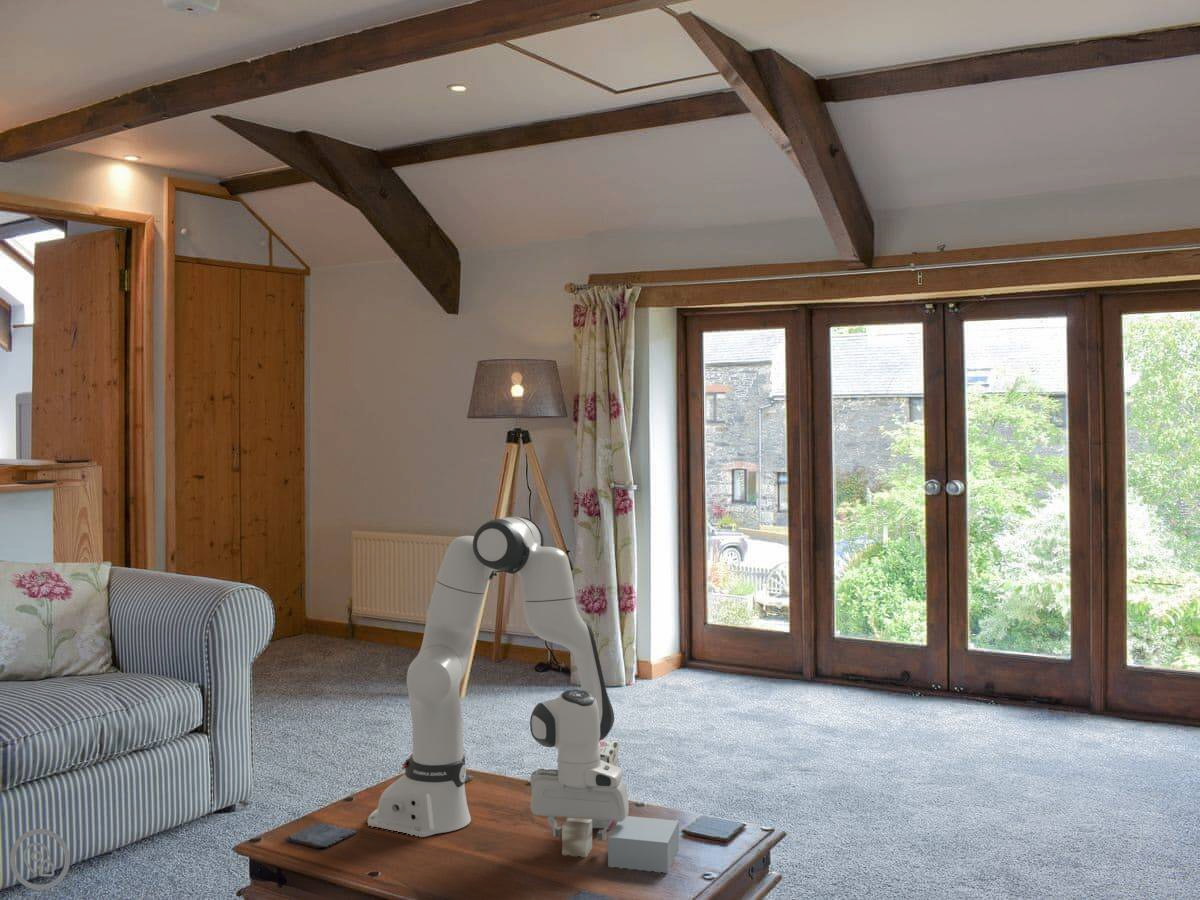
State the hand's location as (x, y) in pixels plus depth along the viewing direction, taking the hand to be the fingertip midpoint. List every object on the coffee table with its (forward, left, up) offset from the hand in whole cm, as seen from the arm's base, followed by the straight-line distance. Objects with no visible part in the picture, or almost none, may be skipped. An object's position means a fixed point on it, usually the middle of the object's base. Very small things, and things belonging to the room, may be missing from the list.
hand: (579, 838), depth 223 cm
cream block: (0, -1, -3) cm, 3 cm away
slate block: (+14, -1, -3) cm, 14 cm away
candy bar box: (+1, +17, -3) cm, 18 cm away
